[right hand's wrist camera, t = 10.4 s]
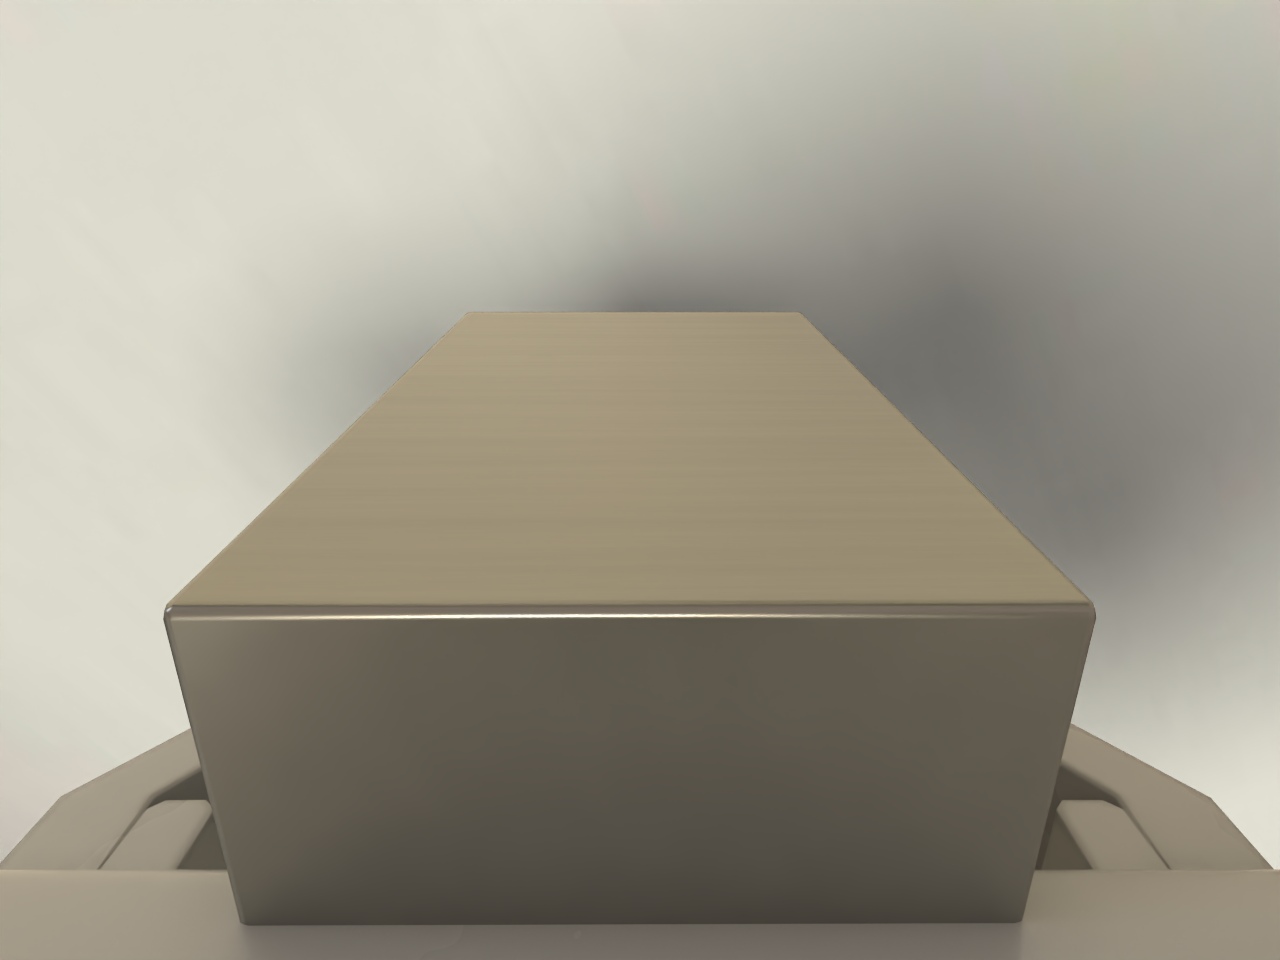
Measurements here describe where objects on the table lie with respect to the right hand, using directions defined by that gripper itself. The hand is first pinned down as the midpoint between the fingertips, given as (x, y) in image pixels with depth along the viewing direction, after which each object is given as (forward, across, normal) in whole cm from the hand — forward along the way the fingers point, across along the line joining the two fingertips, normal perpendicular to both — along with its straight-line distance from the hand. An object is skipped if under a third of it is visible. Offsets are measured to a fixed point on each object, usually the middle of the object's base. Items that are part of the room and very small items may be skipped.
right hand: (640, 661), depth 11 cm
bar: (+3, 0, -10) cm, 10 cm away
